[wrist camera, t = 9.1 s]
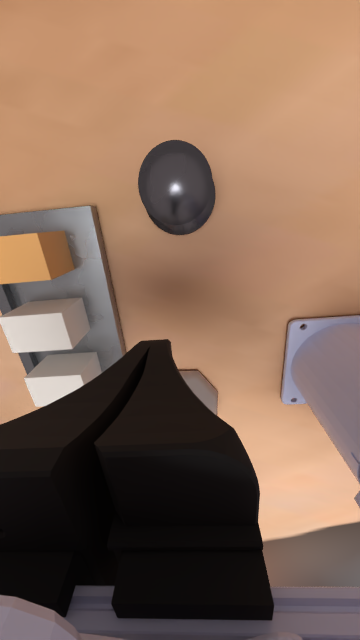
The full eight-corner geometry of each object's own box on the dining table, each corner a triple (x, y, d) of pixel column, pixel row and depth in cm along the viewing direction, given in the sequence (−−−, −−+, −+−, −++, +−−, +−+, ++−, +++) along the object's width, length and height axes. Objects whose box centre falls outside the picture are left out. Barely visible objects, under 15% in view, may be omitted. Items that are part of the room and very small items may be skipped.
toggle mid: (82, 297, 17) (61, 312, 14) (90, 328, 18) (72, 349, 15) (28, 301, 17) (-3, 317, 14) (39, 332, 18) (12, 352, 15)
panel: (95, 206, 15) (86, 205, 14) (132, 381, 21) (127, 393, 19) (-20, 218, 16) (-42, 218, 14) (45, 385, 21) (34, 398, 20)
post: (213, 152, 14) (229, 109, 8) (215, 231, 16) (230, 237, 10) (140, 161, 14) (110, 124, 9) (150, 237, 16) (131, 246, 10)
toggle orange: (64, 230, 15) (36, 232, 12) (74, 269, 16) (51, 279, 13) (4, 236, 15) (-36, 240, 13) (18, 274, 16) (-16, 285, 13)
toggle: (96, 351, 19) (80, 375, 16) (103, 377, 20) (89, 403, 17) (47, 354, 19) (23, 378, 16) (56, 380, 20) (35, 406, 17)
